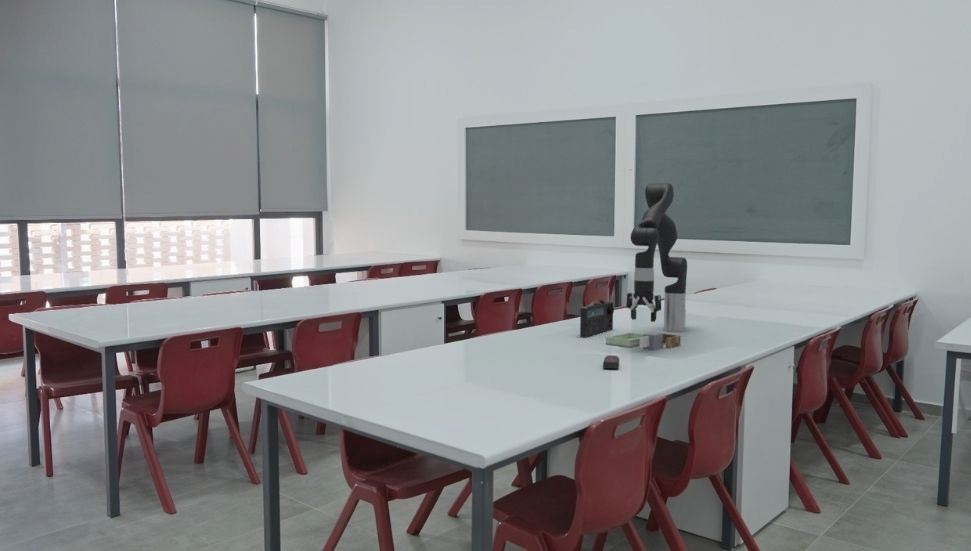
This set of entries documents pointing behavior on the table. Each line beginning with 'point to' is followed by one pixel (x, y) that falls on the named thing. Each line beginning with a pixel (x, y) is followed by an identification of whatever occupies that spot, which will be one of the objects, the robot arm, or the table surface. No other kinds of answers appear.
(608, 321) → the radio
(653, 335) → the grey block with stick
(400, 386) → the table surface
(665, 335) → the u-shaped wooden frame
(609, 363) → the usb drive
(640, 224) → the robot arm
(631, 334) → the tray
